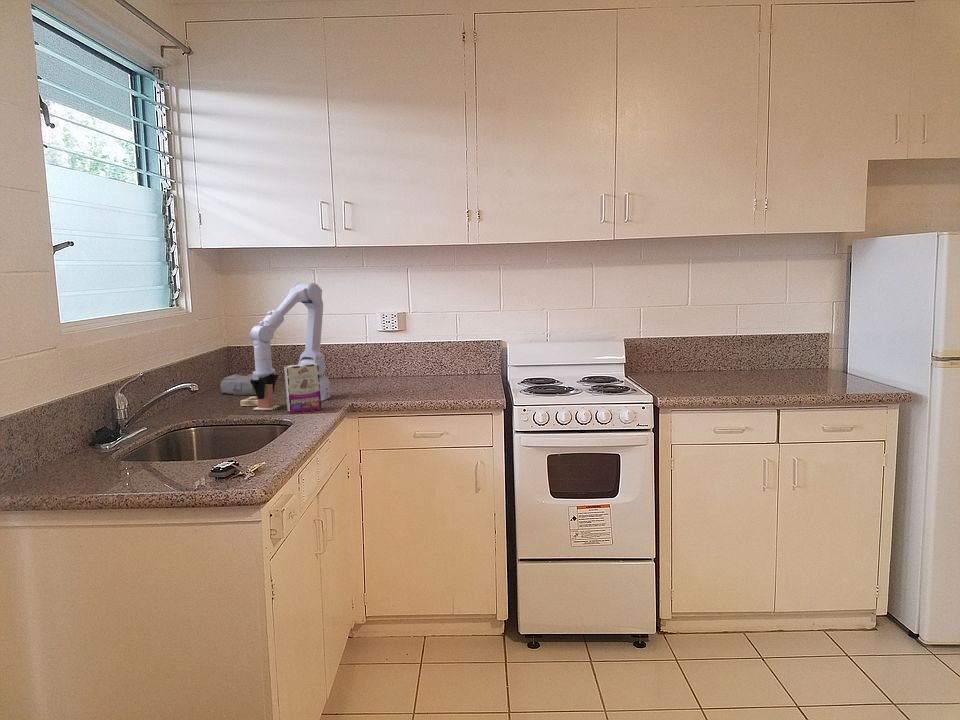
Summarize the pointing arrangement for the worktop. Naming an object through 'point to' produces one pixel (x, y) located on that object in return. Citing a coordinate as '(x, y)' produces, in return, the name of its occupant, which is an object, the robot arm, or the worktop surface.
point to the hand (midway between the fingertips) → (265, 396)
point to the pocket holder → (249, 401)
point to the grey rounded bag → (238, 384)
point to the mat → (266, 408)
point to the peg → (267, 397)
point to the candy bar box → (302, 387)
